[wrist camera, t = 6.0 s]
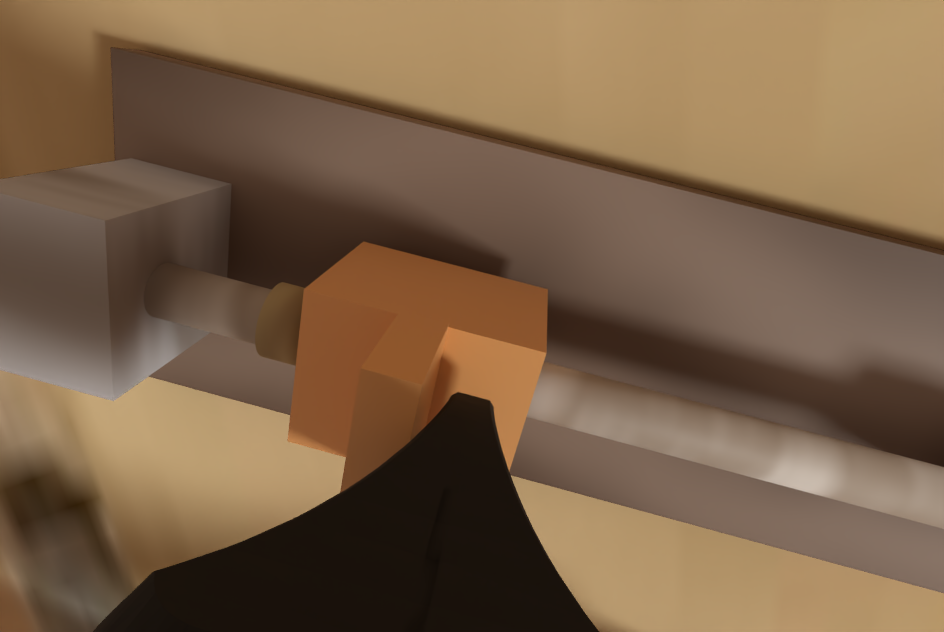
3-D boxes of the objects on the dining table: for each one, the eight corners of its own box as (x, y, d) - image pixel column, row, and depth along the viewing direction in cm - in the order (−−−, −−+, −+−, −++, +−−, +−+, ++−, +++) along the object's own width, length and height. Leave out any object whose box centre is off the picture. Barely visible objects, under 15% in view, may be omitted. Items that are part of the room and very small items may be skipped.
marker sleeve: (510, 412, 16) (487, 596, 10) (344, 367, 16) (228, 523, 10) (548, 285, 14) (546, 418, 8) (364, 237, 14) (238, 335, 9)
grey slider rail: (929, 565, 19) (1088, 765, 13) (147, 353, 20) (-11, 456, 14) (1135, 298, 15) (1487, 423, 9) (141, 50, 16) (-81, 28, 10)
